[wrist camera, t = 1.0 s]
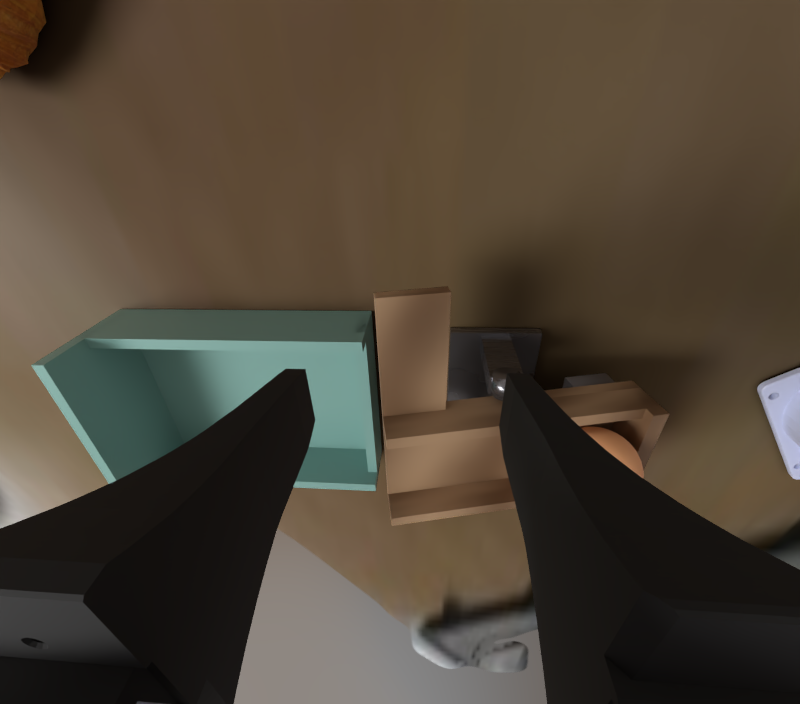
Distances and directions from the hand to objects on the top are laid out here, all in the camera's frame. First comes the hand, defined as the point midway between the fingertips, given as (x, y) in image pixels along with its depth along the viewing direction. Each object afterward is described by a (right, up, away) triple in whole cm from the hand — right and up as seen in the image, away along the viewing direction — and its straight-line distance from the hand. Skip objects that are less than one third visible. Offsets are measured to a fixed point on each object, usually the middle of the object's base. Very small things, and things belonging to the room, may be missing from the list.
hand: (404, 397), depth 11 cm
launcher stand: (+5, -1, +13) cm, 14 cm away
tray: (-9, -1, +14) cm, 17 cm away
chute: (+5, 0, +9) cm, 10 cm away
